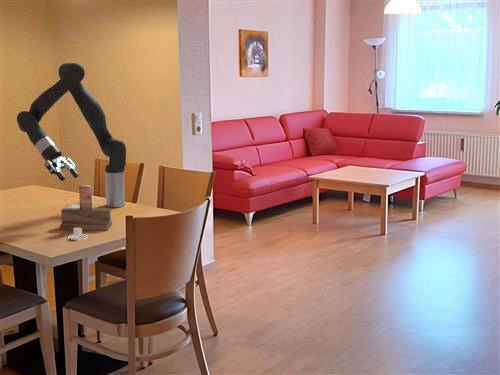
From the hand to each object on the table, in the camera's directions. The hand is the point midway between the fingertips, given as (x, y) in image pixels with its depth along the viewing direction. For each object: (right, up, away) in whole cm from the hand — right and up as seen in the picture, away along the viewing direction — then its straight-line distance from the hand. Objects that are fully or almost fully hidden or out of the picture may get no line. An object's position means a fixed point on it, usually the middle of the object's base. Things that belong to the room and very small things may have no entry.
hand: (70, 178), depth 264 cm
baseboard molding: (-4, -17, +25) cm, 31 cm away
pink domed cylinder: (+7, -13, -1) cm, 15 cm away
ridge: (+7, -21, +1) cm, 22 cm away
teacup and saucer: (+4, -25, -16) cm, 30 cm away
